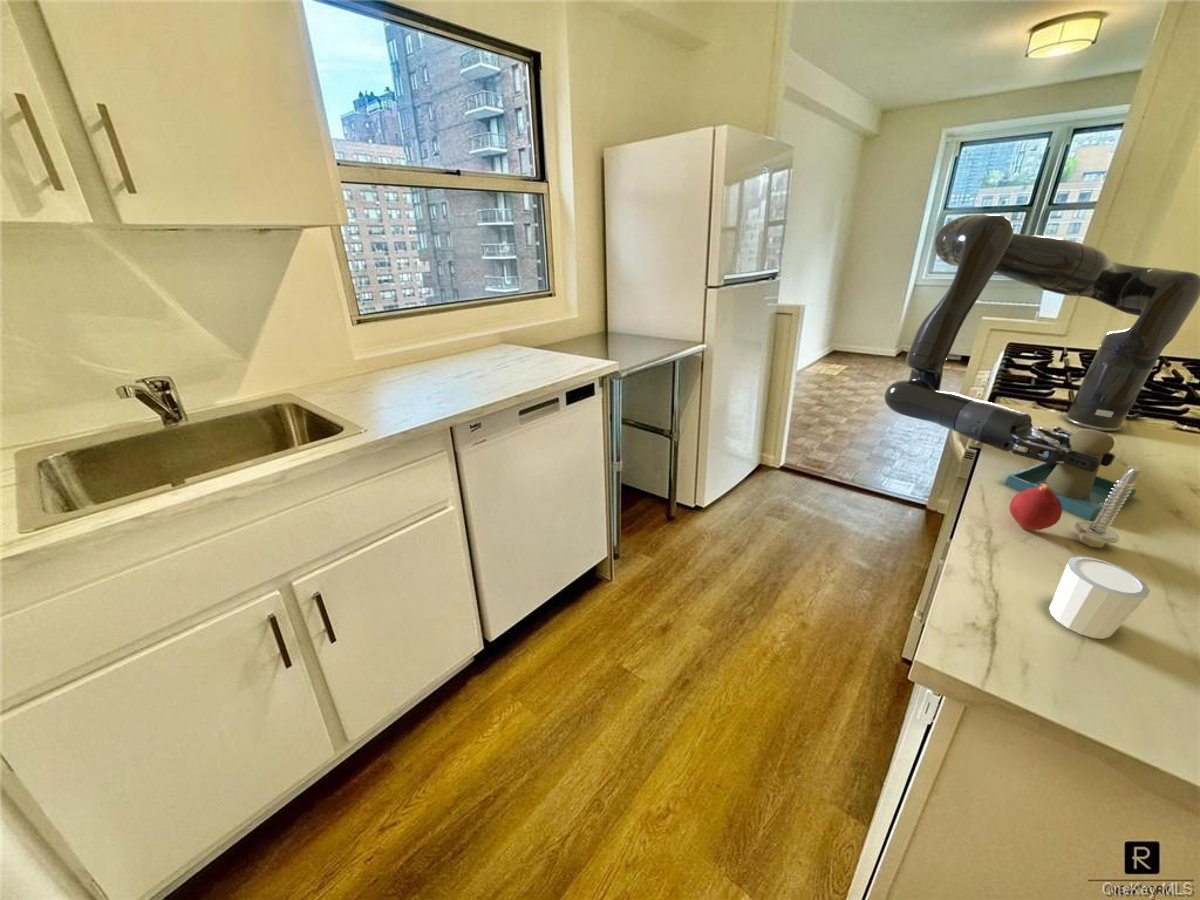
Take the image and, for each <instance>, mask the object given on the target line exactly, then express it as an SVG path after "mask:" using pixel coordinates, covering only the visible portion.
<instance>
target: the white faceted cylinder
mask: <svg viewBox="0 0 1200 900" xmlns="http://www.w3.org/2000/svg"><path fill="white" fill-rule="evenodd" d="M1150 592H1151V590H1150V588H1149V586H1148V584H1147V583H1146V582H1145V581H1144V580H1143V579H1141V578H1140V577H1139V576H1138V575H1136V574H1134V573H1133V572H1131V571H1129V570H1127V569H1125V568H1124V567H1122V566H1119V565H1117V564H1114V563H1112V562H1109V561H1106V560H1103V559H1100V558H1099V559H1098V558H1095V557H1090V556H1089V557H1088V556H1075V557H1070V558H1069V560H1068V561H1067V563H1066V566H1065V567H1064V571H1063V573H1062V576H1061V578H1060V581H1059V583H1058V586H1057V587H1056V590H1055V593H1054V596H1053V598H1052V599H1051V600H1052V601H1051V602H1050V605H1049V608H1048V609H1049V613H1050V615H1051V616H1052V618H1054V619H1055V621H1057V622H1058V623H1059V624H1060V625H1062V626H1063V627H1065V628H1067V629H1068V630H1070V631H1073V632H1075V633H1076V634H1078V635H1082V636H1085V637H1088V638H1091V639H1100V640H1104V639H1107V638H1110V637H1112V635H1113V634H1114V633H1115V632H1116V631H1117V630H1118V628H1120V626H1122V624H1123V623H1125V621H1126V620H1127V619H1128V618H1129V617H1130V616H1132V614H1133V613H1134V612H1135V611H1136V610H1137V608H1138V607H1139V606H1140V605H1141V604H1142V603H1143V602H1144V601H1145V600H1146V599H1147V598H1148V597H1149V594H1150Z"/></svg>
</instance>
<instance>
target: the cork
mask: <svg viewBox="0 0 1200 900" xmlns="http://www.w3.org/2000/svg"><path fill="white" fill-rule="evenodd" d="M1072 433H1073V434H1072V435H1071V437H1070V445H1071V447H1070V448H1069V449H1071V450H1072V451H1076V452H1079V453H1082V454H1085V455H1088V456H1091V457H1094V458H1097V459H1099V460H1102V457H1103V455H1104V454H1106V453H1108V452H1110V451H1112V449H1113V448H1114V446H1115V440H1114V437H1113V436H1111V435H1110V434H1109V433H1107V432H1105V431H1101V430H1095V429H1090V428H1081V429H1077V430H1076V431H1074V432H1072ZM1072 451H1071V453H1072ZM1099 469H1100V466H1099V467H1098V469H1097V470H1096V471H1094V472H1089V471H1086V470H1084V469H1081V468H1078V467H1075V466H1073V465H1070V464H1067V463H1065V464H1062V463H1058V464H1057V466H1056V467H1055V468H1054V470H1053V471H1052V472H1051V474H1050V475H1049V476H1048V478H1047V479H1046V480H1045V482H1044V484H1046V485H1048V486H1049V488H1050V489H1051V490H1052V491H1053V492H1055V493H1058V494H1060V495H1063V496H1067V497H1071V498H1077V499H1085V498H1088V497H1089V495H1090V493H1091V490H1092V487H1093V484H1094V481H1095V478H1096V475H1097V474H1098V472H1099ZM1097 476H1098V475H1097Z"/></svg>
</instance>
